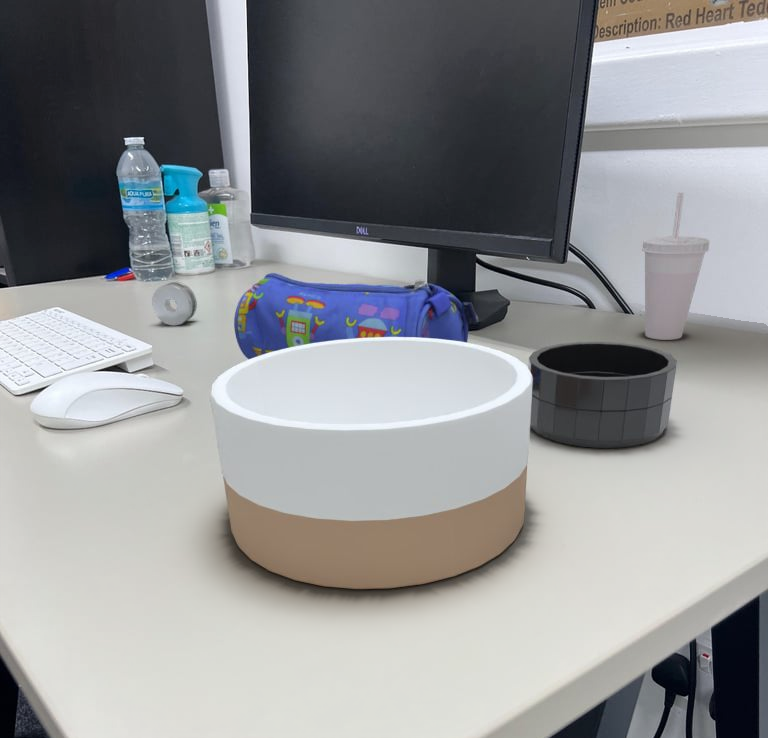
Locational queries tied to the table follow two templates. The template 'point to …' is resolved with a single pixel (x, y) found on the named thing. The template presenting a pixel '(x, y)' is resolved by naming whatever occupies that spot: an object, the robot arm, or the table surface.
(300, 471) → the bowl
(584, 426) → the dark grey round pot
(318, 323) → the pencil case
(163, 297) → the metal grooved wheel
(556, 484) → the table surface
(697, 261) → the smoothie
